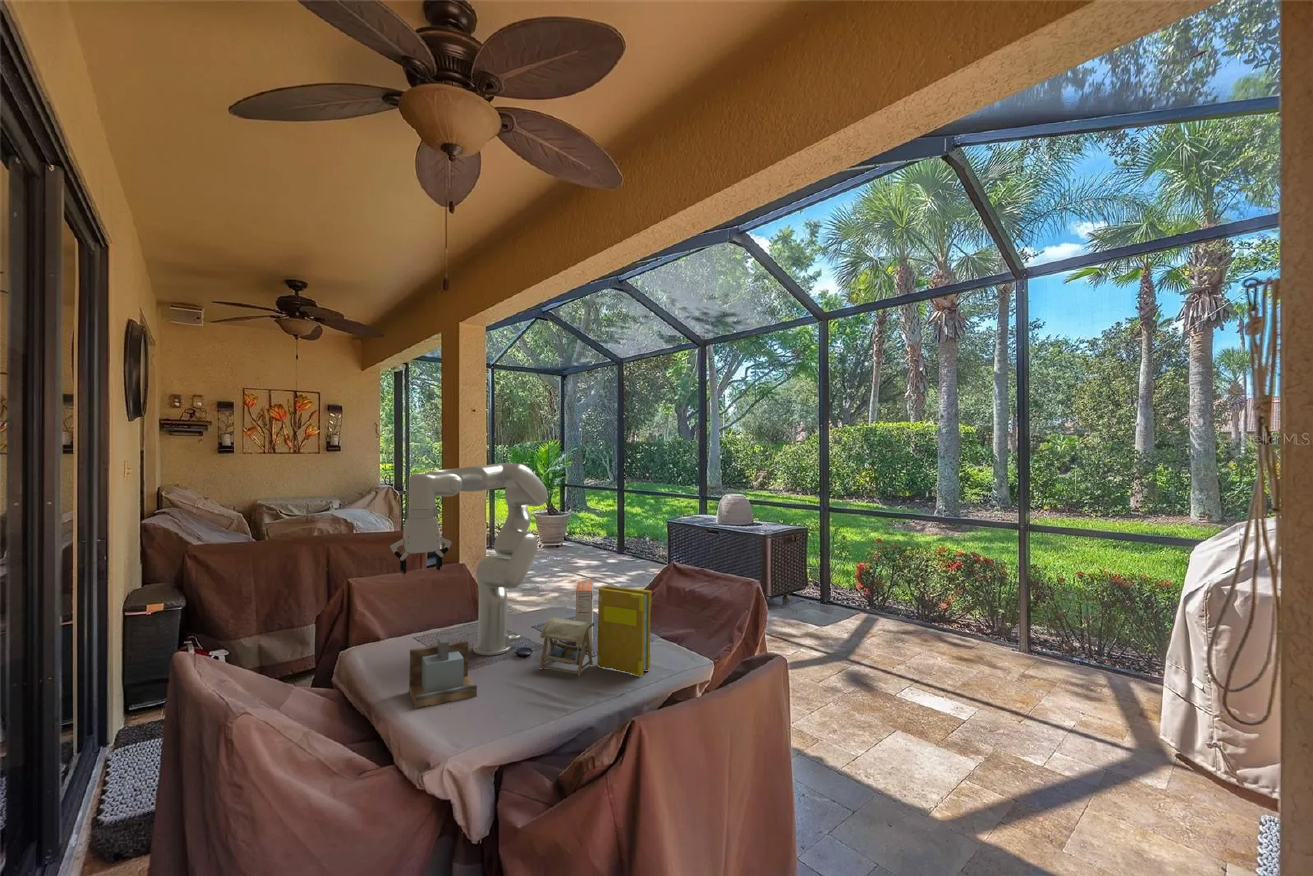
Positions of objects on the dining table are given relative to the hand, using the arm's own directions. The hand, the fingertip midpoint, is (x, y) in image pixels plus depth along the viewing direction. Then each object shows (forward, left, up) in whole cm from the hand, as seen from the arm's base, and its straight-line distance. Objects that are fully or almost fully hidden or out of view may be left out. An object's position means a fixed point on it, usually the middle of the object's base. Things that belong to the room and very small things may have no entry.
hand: (421, 571), depth 176 cm
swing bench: (-42, +14, -32) cm, 55 cm away
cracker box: (-56, -4, -32) cm, 65 cm away
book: (-57, +23, -32) cm, 69 cm away
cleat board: (-4, +16, -32) cm, 36 cm away
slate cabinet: (-4, +14, -30) cm, 34 cm away
